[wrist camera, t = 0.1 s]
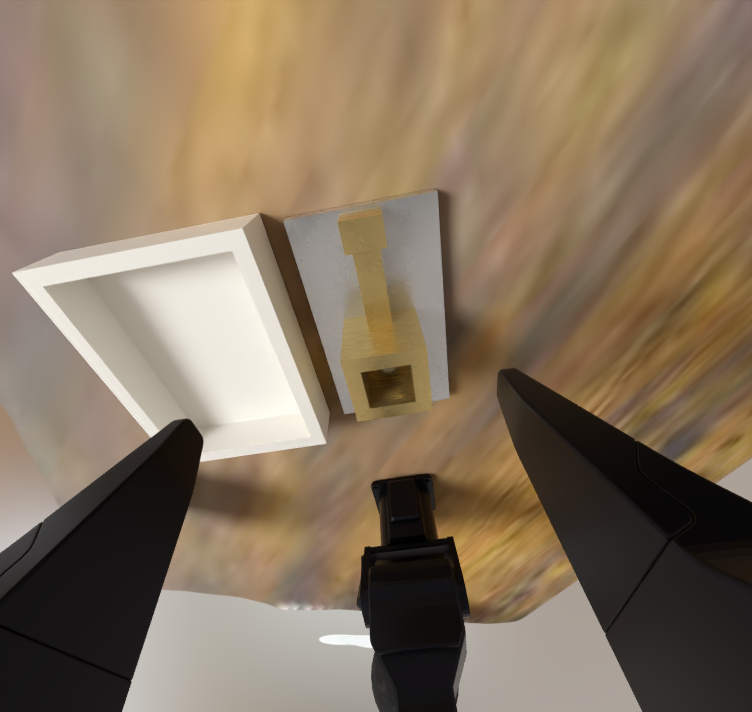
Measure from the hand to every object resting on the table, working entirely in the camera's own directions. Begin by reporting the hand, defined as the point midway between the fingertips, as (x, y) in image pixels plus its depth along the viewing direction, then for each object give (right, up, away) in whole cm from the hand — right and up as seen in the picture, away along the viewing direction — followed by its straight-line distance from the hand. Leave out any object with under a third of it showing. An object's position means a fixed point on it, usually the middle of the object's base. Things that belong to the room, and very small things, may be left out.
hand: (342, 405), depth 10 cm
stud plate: (+1, +4, +15) cm, 15 cm away
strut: (+1, +5, +13) cm, 14 cm away
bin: (-11, +2, +16) cm, 19 cm away
